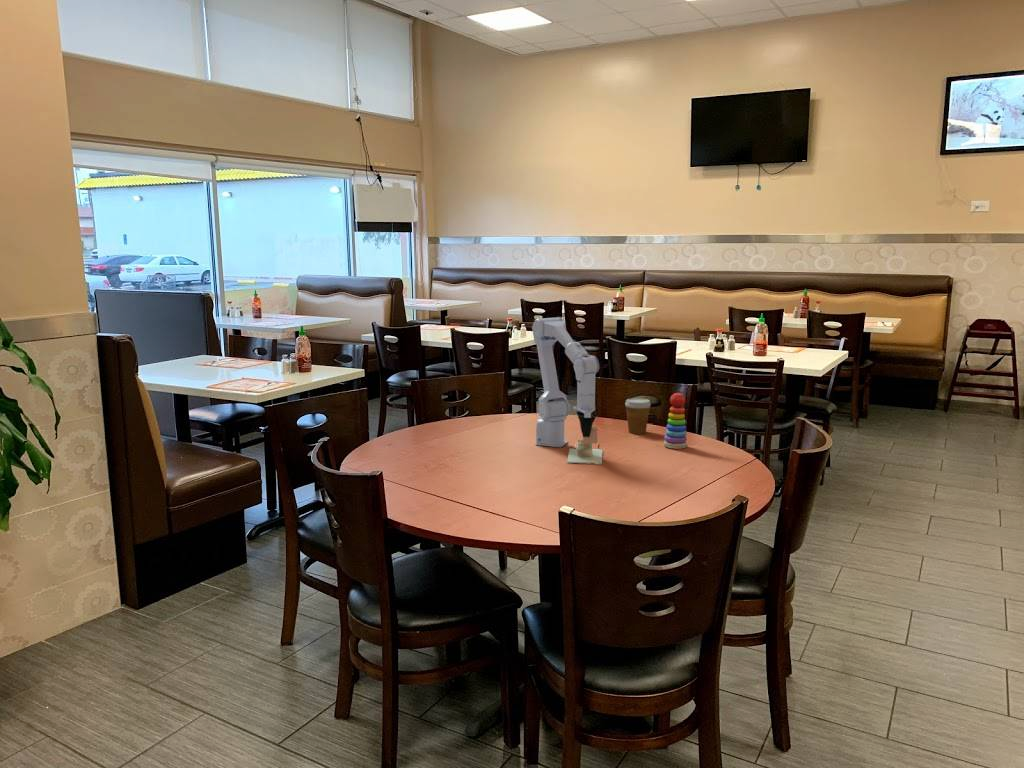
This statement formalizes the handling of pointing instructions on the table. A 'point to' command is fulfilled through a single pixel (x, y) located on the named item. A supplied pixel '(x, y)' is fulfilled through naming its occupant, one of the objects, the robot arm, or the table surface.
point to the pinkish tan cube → (591, 437)
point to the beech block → (584, 449)
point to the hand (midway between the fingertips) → (585, 434)
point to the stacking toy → (676, 424)
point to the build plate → (594, 459)
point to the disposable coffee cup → (637, 414)
